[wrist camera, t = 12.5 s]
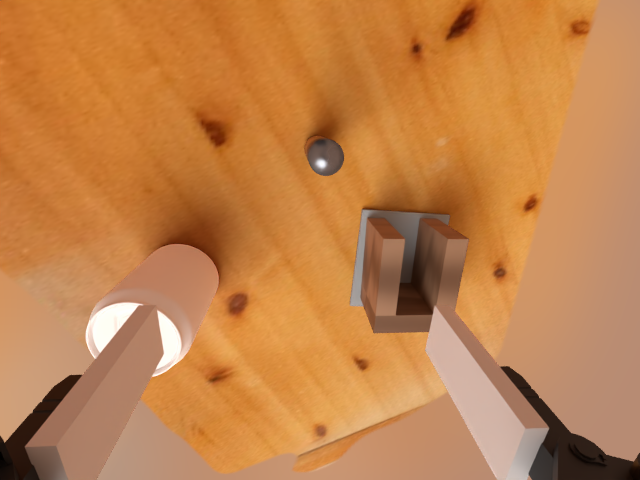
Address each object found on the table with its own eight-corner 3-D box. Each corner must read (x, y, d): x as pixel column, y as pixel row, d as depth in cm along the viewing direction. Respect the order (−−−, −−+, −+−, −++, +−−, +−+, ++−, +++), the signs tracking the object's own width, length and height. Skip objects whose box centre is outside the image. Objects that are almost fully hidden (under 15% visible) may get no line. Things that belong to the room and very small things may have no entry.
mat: (362, 209, 35) (362, 209, 35) (448, 214, 36) (450, 215, 36) (349, 304, 39) (350, 305, 39) (428, 306, 40) (429, 308, 40)
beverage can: (225, 250, 36) (194, 307, 25) (214, 311, 38) (181, 389, 27) (149, 234, 35) (79, 287, 23) (143, 299, 37) (77, 375, 26)
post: (305, 134, 32) (309, 137, 23) (330, 136, 33) (345, 140, 23) (303, 160, 33) (307, 174, 24) (328, 162, 33) (342, 176, 24)
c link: (424, 297, 39) (450, 331, 33) (360, 297, 39) (373, 333, 32) (437, 218, 36) (469, 239, 29) (366, 217, 35) (383, 238, 29)
